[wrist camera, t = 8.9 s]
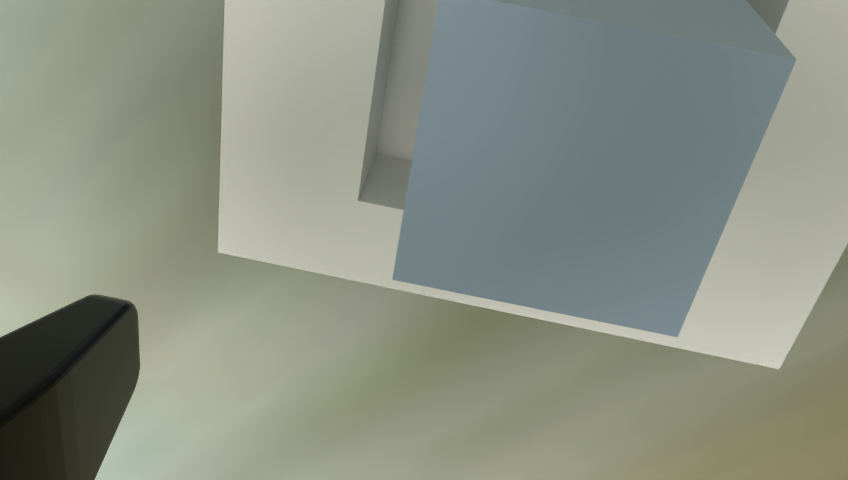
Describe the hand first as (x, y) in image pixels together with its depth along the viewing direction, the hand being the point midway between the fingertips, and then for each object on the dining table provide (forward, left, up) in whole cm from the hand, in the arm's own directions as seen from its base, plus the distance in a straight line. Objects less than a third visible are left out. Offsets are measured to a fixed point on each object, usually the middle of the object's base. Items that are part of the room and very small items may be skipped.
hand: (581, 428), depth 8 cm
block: (0, 0, -12) cm, 12 cm away
